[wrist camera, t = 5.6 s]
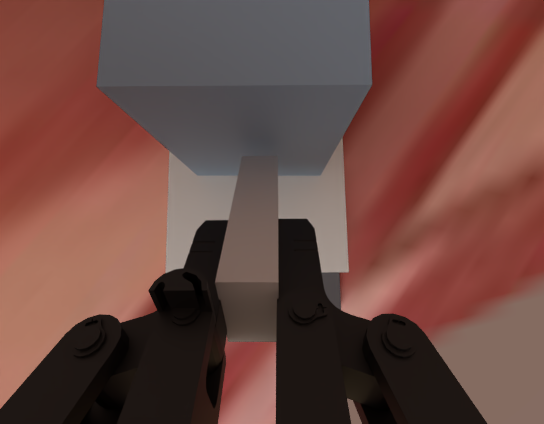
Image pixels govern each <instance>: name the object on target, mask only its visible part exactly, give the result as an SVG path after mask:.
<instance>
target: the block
mask: <svg viewBox="0 0 544 424" xmlns="http://www.w3.org/2000/svg"><path fill="white" fill-rule="evenodd" d="M371 86H372V68H371V42H370V16H369V0H104V10H103V21H102V32H101V43H100V54H99V65H98V76H97V87H98V88H99V89H100V90H101V91H102V92H103V93H104V94H105V95H107V96H108V97H109V98H110V99H111V100H112V101H113V102H115V103H116V104H117V105H118V106H119V107H120V108H121V109H122V110H124V111H125V112H126V113H127V114H128V115H129V116H130V117H132V118H133V119H134V120H135V121H136V122H137V123H138V124H139V125H141V126H142V127H143V128H144V129H145V130H146V131H147V132H148V133H150V134H151V135H152V136H153V137H154V138H155V139H156V140H158V141H159V142H160V143H161V144H162V145H163V146H164V147H165V148H167V149H168V150H169V151H170V152H171V153H172V154H173V155H175V156H176V157H177V158H178V159H179V160H180V161H181V162H182V163H184V164H185V165H186V166H187V167H188V168H189V169H190V170H192V171H193V172H194V173H195V174H196V175H197V176H238V173H239V168H240V164H241V159H242V156H278V176H320V175H321V174H322V172H323V170H324V168H325V167H326V165H327V163H328V161H329V160H330V158H331V156H332V154H333V153H334V151H335V149H336V147H337V146H338V144H339V142H340V140H341V139H342V137H343V135H344V133H345V132H346V130H347V128H348V126H349V124H350V123H351V121H352V119H353V117H354V116H355V114H356V112H357V110H358V109H359V107H360V105H361V103H362V102H363V100H364V98H365V96H366V95H367V93H368V91H369V89H370V88H371Z"/></svg>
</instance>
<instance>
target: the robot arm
mask: <svg viewBox="0 0 544 424" xmlns="http://www.w3.org/2000/svg"><path fill="white" fill-rule="evenodd" d="M149 293H150V295H151V297H152V299H153V302H154V304H155V306H156V308H157V311H155V312H154V313H151V314H149V315H146V316H143V317H139V318H136V319H132V320H129V321H126V322H122V323H120V322H119V321H118V319H117V318H115V317H113V316H111V315H96V316H93V317H89V318H87V319H85V320H83V321H82V322H80V323H78V324H76V325H75V326H74V327H73V328H72V329H71V330H70V331H68V332H67V333H66V334H65V335H64V337H63V338H62V339H61V340H60V341H59V342H58V343H57V345H56V346H55V347H54V348H53V349H52V350H51V351H50V353H49V354H48V355H47V356H46V357H45V358H44V359H43V361H42V362H41V363H40V364H39V365H38V366H37V368H36V369H35V370H34V371H33V372H32V373H31V374H30V376H29V377H28V378H27V379H26V380H25V381H24V382H23V384H22V385H21V386H20V387H19V388H18V389H17V391H16V392H15V393H14V394H13V395H12V396H11V397H10V399H9V400H8V401H7V402H6V403H5V404H4V405H3V407H2V408H1V409H0V424H218V417H219V410H220V403H221V395H222V388H223V381H224V373H225V366H226V356H225V351H224V348H225V342H226V335H227V338H228V342H276V424H351V420H350V415H349V409H348V403H347V398H348V399H351V400H353V402H354V404H355V407H356V409H357V412H358V414H359V417H360V419H361V422H362V424H487V423H486V421H485V420H484V418H483V417H482V415H481V414H480V413H479V411H478V409H477V408H476V407H475V405H474V404H473V402H472V401H471V400H470V398H469V396H468V395H467V394H466V392H465V391H464V389H463V388H462V386H461V385H460V383H459V382H458V381H457V379H456V378H455V376H454V375H453V373H452V372H451V371H450V369H449V368H448V366H447V365H446V363H445V362H444V360H443V359H442V357H441V356H440V355H439V353H438V352H437V350H436V349H435V347H434V346H433V344H432V343H431V342H430V340H429V339H428V337H427V336H426V334H425V333H424V332H423V331H422V330H421V329H420V328H419V327H418V326H417V324H415V323H414V322H412V321H410V320H409V319H407V318H406V317H403V316H400V315H396V314H381V315H379V316H377V317H375V318H373V319H372V321H370V320H366V319H363V318H360V317H356V316H353V315H350V314H348V313H345V312H343V311H341V310H340V309H338V308H337V307H335V306H334V305H333V304H332V303H331V302H330V300H329V299H328V297H327V295H326V293H325V290H324V284H323V278H322V272H321V266H320V259H319V253H318V247H317V242H316V234H315V228H314V227H313V226H312V224H311V223H310V222H309V221H308V219H278V156H242V159H241V164H240V168H239V173H238V178H237V182H236V187H235V192H234V196H233V201H232V206H231V210H230V215H229V220H205V222H204V223H203V224H202V225H201V226H200V227H199V228H198V229H197V230H196V233H195V236H194V239H193V244H192V245H191V248H190V251H189V253H188V256H187V259H186V262H185V265H184V268H181V269H174V270H172V271H170V272H167V273H165V274H163V275H162V276H161V277H159V278H158V279H157V280H156V281H154V283H153V284H152V286H151V287H150V289H149Z"/></svg>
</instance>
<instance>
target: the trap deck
mask: <svg viewBox="0 0 544 424" xmlns="http://www.w3.org/2000/svg"><path fill="white" fill-rule="evenodd" d="M237 178H238V176H197V175H196V174H195V173H194V172H193V171H192V170H190V169H189V168H188V167H187V166H186V165H185V164H184V163H182V162H181V161H180V160H179V159H178V158H177V157H176V156H175V155H173V154H172V153H171V152H170V151H169V181H168V212H167V243H166V273H167V272H170V271H172V270H174V269H181V268H184V265H185V262H186V259H187V256H188V253H189V251H190V248H191V245H192V244H193V239H194V236H195V233H196V230H197V229H198V228H199V227H200V226H201V225H202V224H203V223H204V222H205V220H229V215H230V210H231V206H232V201H233V196H234V192H235V187H236V182H237ZM278 219H308V221H309V222H310V223H311V224H312V226H313V227H314V228H315V234H316V242H317V247H318V253H319V259H320V266H321V272H322V278H323V284H324V290H325V293H326V295H327V297H328V299H329V300H330V302H331V303H332V304H333V305H334V306H335V307H337V308H338V309H340V310H341V301H340V277H339V272H349V266H348V244H347V222H346V201H345V179H344V158H343V137H342V139H341V140H340V142H339V144H338V146H337V147H336V149H335V151H334V153H333V154H332V156H331V158H330V160H329V161H328V163H327V165H326V167H325V168H324V170H323V172H322V174H321V175H320V176H278Z"/></svg>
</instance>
